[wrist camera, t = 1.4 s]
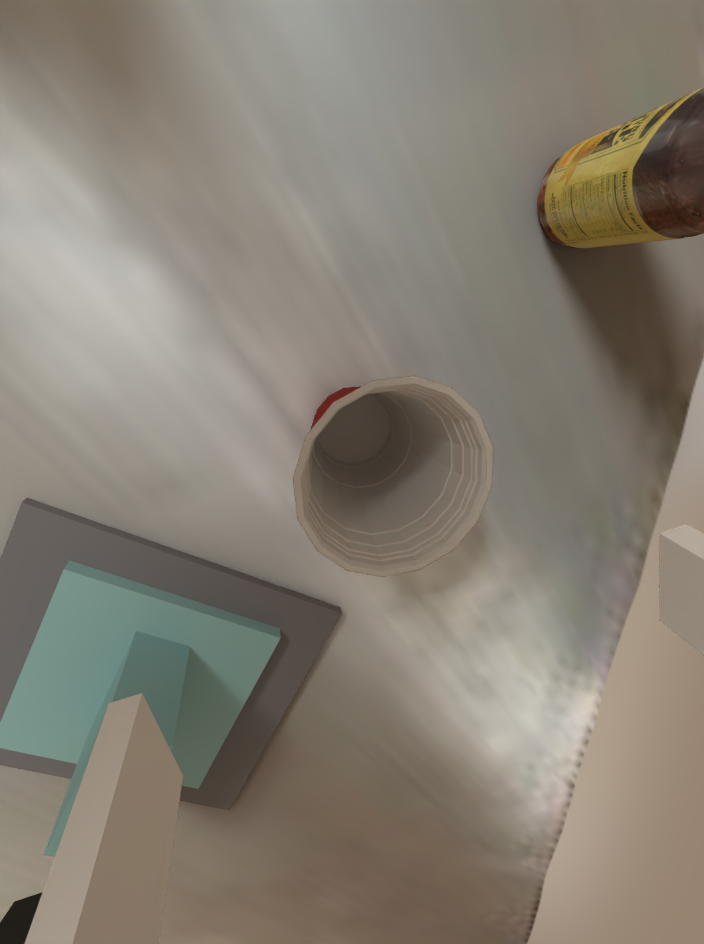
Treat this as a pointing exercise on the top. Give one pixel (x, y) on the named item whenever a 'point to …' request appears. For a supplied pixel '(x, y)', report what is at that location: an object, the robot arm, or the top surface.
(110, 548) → the mat
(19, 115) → the top surface
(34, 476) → the top surface
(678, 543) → the robot arm
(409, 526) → the plastic cup
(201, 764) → the lid
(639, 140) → the sauce bottle
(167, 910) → the top surface
